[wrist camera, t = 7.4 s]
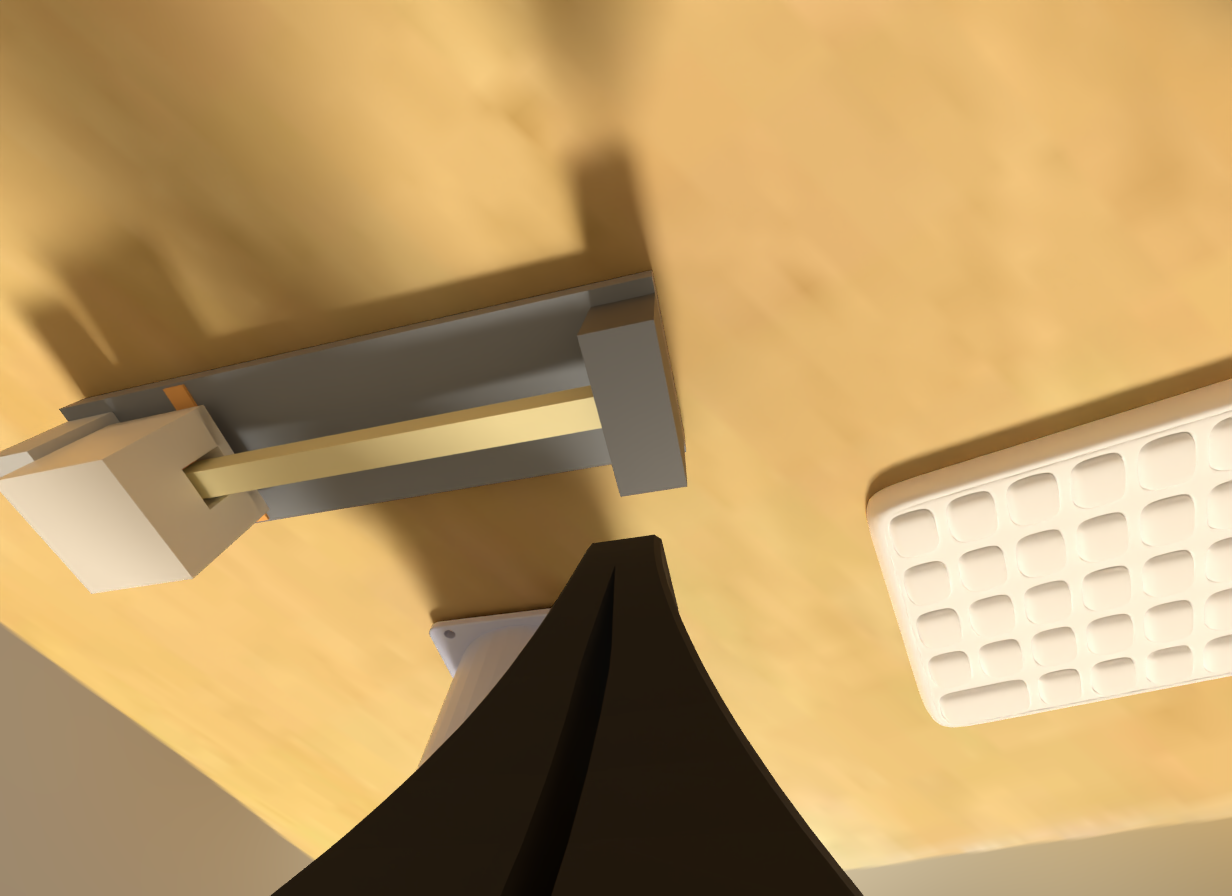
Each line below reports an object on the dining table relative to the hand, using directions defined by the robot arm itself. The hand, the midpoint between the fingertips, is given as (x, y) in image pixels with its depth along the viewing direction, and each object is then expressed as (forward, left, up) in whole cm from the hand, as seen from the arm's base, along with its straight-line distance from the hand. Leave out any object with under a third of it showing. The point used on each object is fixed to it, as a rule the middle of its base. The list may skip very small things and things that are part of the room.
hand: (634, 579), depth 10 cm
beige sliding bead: (+17, -1, -8) cm, 18 cm away
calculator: (-18, +10, -10) cm, 23 cm away
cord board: (+10, -1, -9) cm, 14 cm away
